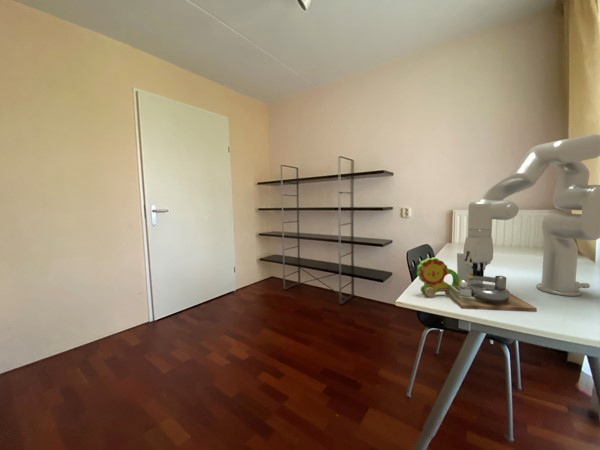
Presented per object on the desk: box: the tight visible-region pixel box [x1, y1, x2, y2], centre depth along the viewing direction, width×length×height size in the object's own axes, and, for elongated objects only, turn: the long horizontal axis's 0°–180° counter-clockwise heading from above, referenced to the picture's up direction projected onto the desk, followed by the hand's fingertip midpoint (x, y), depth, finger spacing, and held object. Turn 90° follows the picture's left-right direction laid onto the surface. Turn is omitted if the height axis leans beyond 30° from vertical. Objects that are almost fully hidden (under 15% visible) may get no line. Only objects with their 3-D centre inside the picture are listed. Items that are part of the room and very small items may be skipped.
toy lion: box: [416, 256, 459, 298], centre depth 101 cm, size 16×5×15 cm, turn 87°
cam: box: [467, 274, 511, 302], centre depth 93 cm, size 12×13×8 cm
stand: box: [444, 286, 537, 312], centre depth 94 cm, size 23×15×5 cm, turn 80°
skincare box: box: [456, 250, 484, 288], centre depth 111 cm, size 8×6×15 cm
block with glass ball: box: [455, 280, 472, 297], centre depth 95 cm, size 4×4×6 cm
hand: (478, 279), depth 99 cm, fingers closed
